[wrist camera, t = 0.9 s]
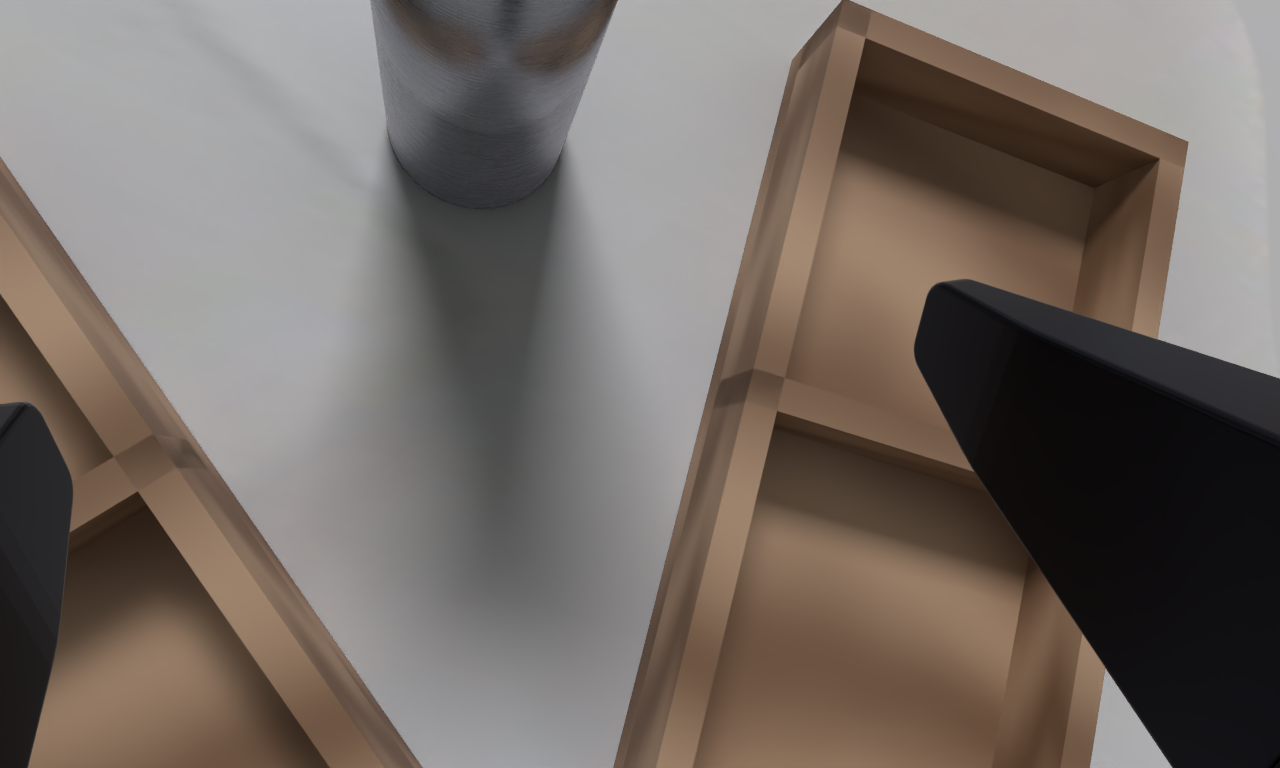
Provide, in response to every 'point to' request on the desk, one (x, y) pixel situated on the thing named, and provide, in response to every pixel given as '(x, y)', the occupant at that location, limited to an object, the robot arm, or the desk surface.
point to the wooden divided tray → (889, 423)
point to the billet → (484, 89)
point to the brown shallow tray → (161, 562)
